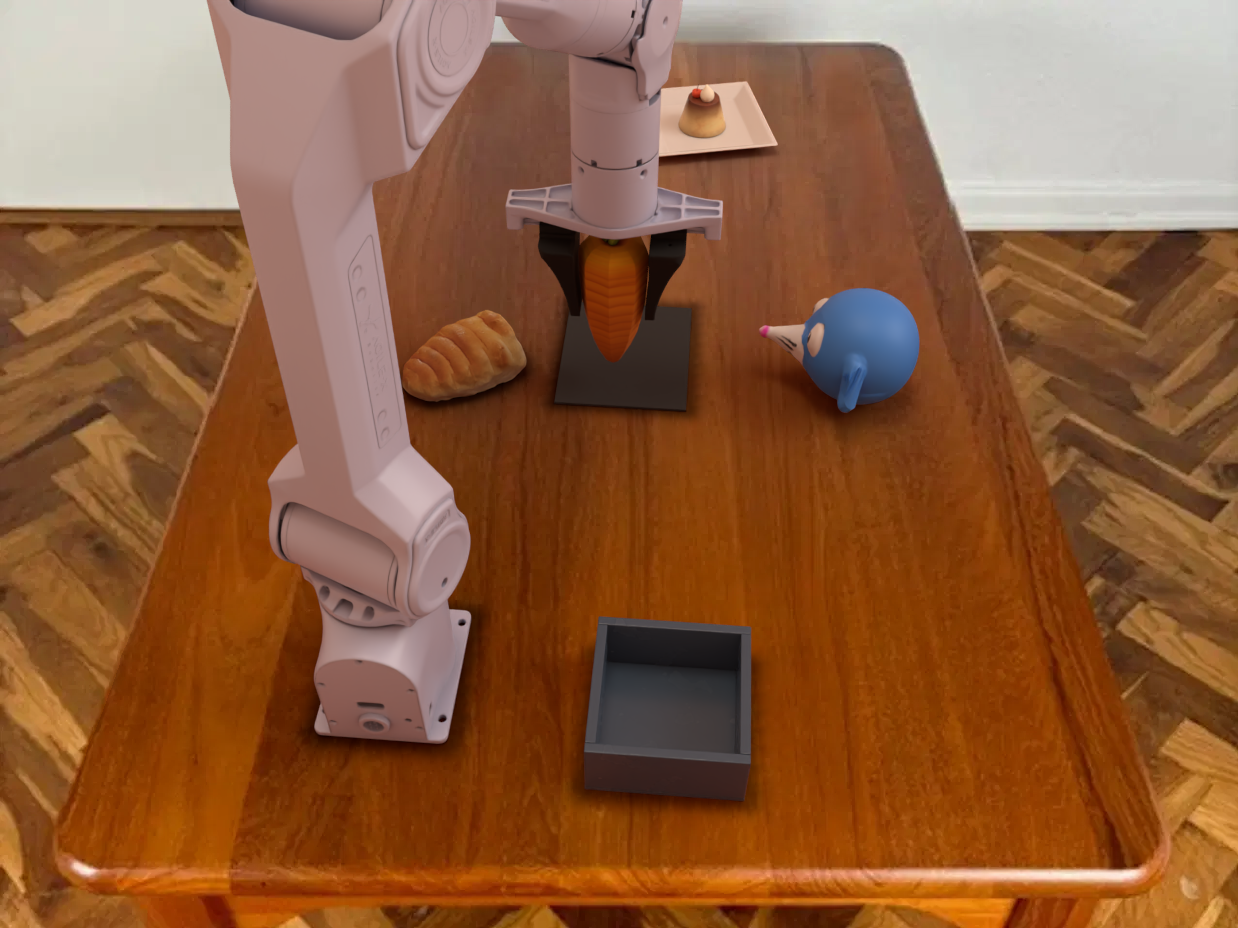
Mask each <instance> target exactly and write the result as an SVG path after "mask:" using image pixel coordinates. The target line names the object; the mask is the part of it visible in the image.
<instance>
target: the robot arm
mask: <svg viewBox="0 0 1238 928" xmlns="http://www.w3.org/2000/svg"><path fill="white" fill-rule="evenodd" d="M206 4H207V7H208V12H209V16H210V20H211V21H210V22H211V25H212V29H213V33H214V37H215V42H216V47H217V50H218V54H219V59H220V63H221V68H222V72H223V75H224V80H225V84H226V85H225V86H226V88H227V93H228V97H229V163H230V164H229V165H230V173H231V177H232V184H233V188H234V192H235V196H236V201H237V204H238V208H239V212H240V216H241V220H242V224H243V228H244V232H245V233H244V234H245V236H246V241H247V245H248V248H249V252H250V256H251V261H252V265H253V268H254V273H255V277H256V281H257V285H258V289H259V293H260V297H261V301H262V305H263V309H264V313H265V318H266V321H267V325H268V329H269V333H270V337H271V342H272V345H273V350H274V353H275V359H276V362H277V366H278V370H279V373H280V379H281V381H282V385H283V389H284V394H285V398H286V402H287V406H288V410H289V414H290V417H291V422H292V426H293V430H294V435H295V438H296V443H295V445H294V446H293V447H292V448H291V449H290V450H289V451H288V452H287V453H286V454H285V455H284V456H283V458H282V459H281V460H280V461H279V462H278V463H277V465H276V467H275V468H274V469H273V472H272V473H271V475H270V476H269V477H268V479H267V486H268V489H269V493H270V499H271V509H270V513H269V518H268V537H269V539H268V540H269V544H270V547H271V550H272V552H273V553H274V555H275V556H276V557H277V558H278V559H280V560H282V561H284V562H287V563H290V564H294V565H295V564H297V565H299V567H300V570H301V573H302V576H303V579H304V580H306V581H307V582H309V583H310V584H311V585H312V587H313V588H314V590H315V593H316V596H317V600H318V604H319V609H320V613H321V619H322V620H321V622H322V635H321V643H320V648H319V653H318V657H317V660H316V664H315V667H314V671H313V682H314V683H313V684H314V686H315V689H316V692H317V695H318V698H319V701H320V705H319V706H318V707H319V708H318V711H317V715H316V717H315V721H314V725H313V726H314V727H313V728H314V731H315V733H316V734H317V735H319V736H329V737H330V736H331V737H340V738H342V737H343V738H356V739H366V740H367V739H368V740H369V739H371V740H383V741H395V742H396V741H397V742H407V743H408V742H409V743H410V742H411V743H422V744H423V743H424V744H434V745H435V744H436V745H437V744H438V745H439V744H443V743H445V742H446V741H447V740H448V738H449V734H450V729H451V724H452V719H453V715H454V714H453V713H454V709H455V704H456V698H457V694H458V689H459V684H460V678H461V673H462V669H463V664H464V658H465V653H466V648H467V643H468V639H469V638H468V637H469V632H470V630H471V629H470V628H471V624H472V615H471V612H470V611H468V610H465V609H453V608H452V609H451V608H450V607H449V606H450V605H449V598H450V597H451V595H452V594H453V593H454V591H455V590H456V588H457V586H458V585H459V582H460V581H461V579H462V576H463V574H464V571H465V569H466V566H467V564H468V560H469V556H470V550H471V534H470V530H469V523H468V519H467V517H466V515H465V514H463V512H461V510H459V508H458V507H457V505H456V500H455V493H454V488H453V486H452V485H451V484H450V483H449V482H448V481H447V480H446V479H445V478H444V477H443V476H442V474H440V473H439V471H437V470H436V469H435V468H434V466H432V465H431V464H430V463H429V462H428V461H427V460H426V459H425V458H424V457H423V456H422V455H421V454H420V453H419V452H418V451H417V450H416V449H415V448H414V447H413V446H412V444H411V439H410V433H409V431H410V430H409V425H408V419H407V412H406V405H405V399H404V394H403V385H402V379H401V373H400V367H399V366H400V365H399V360H398V354H397V353H398V352H397V346H396V340H395V334H394V328H393V327H394V326H393V321H392V315H391V307H390V300H389V293H388V287H387V281H386V274H385V267H384V260H383V256H382V255H383V254H382V249H381V241H380V236H379V230H378V229H379V228H378V222H377V214H376V207H375V202H374V194H373V186H374V184H375V183H376V182H379V181H382V180H386V179H389V178H393V177H395V176H399V175H402V174H406V173H409V172H410V171H411V170H412V169H413V167H414V166H415V164H416V163H417V161H418V160H419V158H420V157H421V155H422V153H423V152H424V151H425V149H426V147H427V146H428V145H429V143H430V141H431V140H432V139H433V137H434V135H435V134H436V132H437V131H438V130H439V128H440V126H441V125H442V124H443V122H444V120H445V118H446V117H447V115H448V114H449V113H450V111H451V110H452V108H453V106H454V105H455V104H456V102H457V100H458V99H459V97H460V96H461V95H462V93H463V91H465V88H466V87H467V85H468V83H469V82H470V81H471V80H472V79H473V78H474V76H475V74H476V73H477V71H478V69H479V67H480V65H481V63H482V60H483V58H484V55H485V53H486V50H487V49H488V48H489V47H490V46H491V43H492V39H493V38H492V37H493V33H494V28H495V21H496V20H495V19H496V17H501V20H502V22H503V24H504V26H505V27H506V29H507V30H508V32H509V34H511V35H512V36H513V37H514V38H515V39H516V40H517V41H519V42H520V43H522V44H523V45H525V46H527V47H529V48H532V49H535V50H541V51H542V50H543V51H548V52H549V51H550V52H553V53H554V52H555V53H561V54H566V55H567V54H568V92H569V125H570V127H569V129H570V131H569V132H570V172H571V175H570V177H571V180H570V181H571V183H564V184H558V185H551V186H545V187H539V188H538V187H537V188H529V189H509V190H508V194H507V198H506V202H505V218H506V229H507V230H512V231H513V230H514V231H521V230H523V229H524V228H525V225H528V226H538V228H539V229H538V230H539V232H538V241H537V249H538V253H539V256H540V258H541V260H542V261H544V262H545V264H546V265H547V266H548V268H549V269H550V271H551V272H552V273H553V275H554V276H555V278H556V280H557V282H558V283H559V286H560V288H561V289H562V292H563V295H564V297H565V300H566V303H567V307H568V312H569V311H570V315H571V316H580V311H581V305H582V302H583V299H582V295H581V284H580V272H579V254H578V252H579V247H580V244H581V234H584V235H587V236H589V235H591V236H594V237H598V238H604V239H626V238H633V237H639V236H641V237H645V236H650V237H649V249H648V254H649V266H648V281H647V291H646V301H645V320H655V313H656V309H657V306H659V303H660V299H661V297H662V295H663V293H664V291H665V289H666V288H667V285H668V283H669V282H670V281H671V279H672V277H674V274H676V272H677V270H679V268H680V267H681V266H682V264H683V262H684V260H685V257H686V253H687V242H688V241H687V239H688V234H696V235H697V234H698V235H703V236H704V237H703V238H704V239H705V240H707V241H721V239H722V225H723V215H724V214H723V211H724V201H723V200H722V199H721V200H719V199H710V198H703V197H698V196H694V195H690V194H686V193H683V192H679V191H675V190H671V189H668V188H664V187H661V186H658V185H659V160H660V159H659V158H660V157H659V139H660V110H661V89H662V88H663V86H664V85H665V84H666V83H667V82H668V81H669V77H670V71H672V55H673V49H674V45H675V41H676V37H677V34H678V32H679V28H680V23H681V17H682V13H683V11H682V10H683V0H206ZM460 624H464V625H460ZM441 719H445V720H444V721H442V722H441V721H440V720H441Z"/></svg>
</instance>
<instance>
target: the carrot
mask: <svg viewBox="0 0 1238 928" xmlns="http://www.w3.org/2000/svg"><path fill="white" fill-rule="evenodd" d="M578 254H579V272H580V284H581V295H582V302H583V304H584V308H585V313H586V316H587V320H588V323H589V327H590V330H591V332H592V335H593V338H594V340H595V342H596V344H597V346H598V348H599V350H600V352H601V353H602V354H603V356H604V357H605V358H606V360H608V361H610V362H612V363H614V362H617V361H619V359H620V358H621V357H622V356H623V354H624V353H625V352H626V350H627V349H628V347H629V346H630V345H631V343H632V341H633V339H634V337H635V335H636V333H637V331H638V327H639V324H640V321H641V317H642V313H643V309H644V305H645V306H646V296H647V287H648V276H649V250H648V249H647V246H646V244H645V242H644V240H643V238H642V236H639V237H633V238H626V239H604V238H598V237H594V236H591V235H587V237H585V238H584V240H582V241H581V242H580V247H579V252H578Z"/></svg>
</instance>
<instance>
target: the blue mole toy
mask: <svg viewBox="0 0 1238 928" xmlns="http://www.w3.org/2000/svg"><path fill="white" fill-rule="evenodd" d="M916 322H917V321H916V320H915V317H914V316H913V314H912V312H911V311H910V310H909V308H908V307H907V306H906V305H905V304H904V303H903V302H902V301H900V300H899V299H898V298H897V297H895V296H894V295H891V294H890V293H888V292H885V291H883V290H880V289H875V288H870V287H858V288H857V287H856V288H849V289H845V290H841V291H839V292H837V293H835V294H833V295H831V296H830V297H823V298H822V299H820V300H818V301H817V302H816V303H815V304H814V305H813V308H812V315H810V317H808V319H807V320H805V322H804V323H802V324H791V325H777V326H771V325H767V324H765V325H762V326H761V327H760V328H758V332H759V333H758V334H759V335H760V336H761V337H762V338H765V339H769V340H771V341H773V342H775V343H776V344H777V345H778V346H779V347H781V348H782V350H784V351H785V352H786V353H788V354H790V355H792V357H793V358H795V360H797V361H798V363H799V364H800V365H801V366H802V367H803V369H804V370H805V371H806V373H807V375H808V376H809V378H810V379H811V380H812V382H813V383H814V384H815V385H816V387H817V388H818V389H819V390H820V391H822V392H823V393H824V394H825V395H827V396H828V397H830V398H832V399H834V400H836V403H837V409H838V410H839V411H840V412H841V413H843V414H844V413H845V414H847V413H850V412H851V411H852V410H854V409H855V408H856V406H857V405H859V406H860V405H861V406H862V405H871V404H876V403H880V402H882V401H885V400H887V399H890V398H891V397H893V396H894V395H896V394H897V393H898V392H899V391H900V390H901V389H902V388H903V387H904V386H905V385H906V384H907V383H908V381H909V380H910V379H911V376H913V375H912V374H913V373H914V371H915V368H916V366H917V363H918V358H919V354H920V334H919V333H920V332H919V329H918V325H917V323H916Z"/></svg>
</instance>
